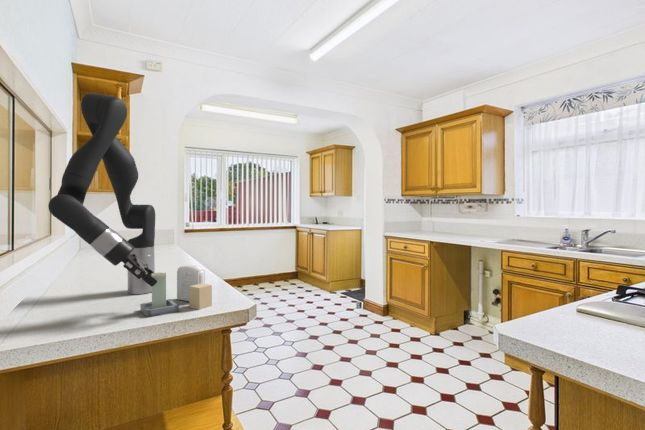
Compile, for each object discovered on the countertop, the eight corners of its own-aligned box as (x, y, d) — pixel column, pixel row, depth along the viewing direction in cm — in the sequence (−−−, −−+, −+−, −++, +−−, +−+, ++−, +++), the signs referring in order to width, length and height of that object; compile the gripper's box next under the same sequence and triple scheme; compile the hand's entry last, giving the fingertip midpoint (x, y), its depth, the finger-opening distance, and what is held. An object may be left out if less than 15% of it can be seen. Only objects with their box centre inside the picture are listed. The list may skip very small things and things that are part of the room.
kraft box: (189, 307, 117) (189, 286, 117) (201, 303, 122) (201, 283, 121) (199, 309, 115) (199, 288, 115) (211, 306, 119) (211, 285, 119)
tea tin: (152, 307, 114) (151, 273, 114) (166, 306, 116) (166, 272, 115) (151, 311, 110) (151, 275, 110) (166, 309, 112) (166, 274, 112)
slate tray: (140, 310, 114) (140, 303, 114) (170, 305, 119) (170, 299, 119) (147, 317, 107) (147, 310, 107) (178, 311, 112) (178, 305, 112)
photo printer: (207, 300, 126) (206, 265, 125) (198, 303, 122) (198, 267, 121) (183, 297, 130) (183, 263, 129) (175, 300, 126) (174, 265, 125)
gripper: (120, 239, 102) (164, 276, 107) (125, 235, 115) (164, 268, 120) (98, 259, 100) (144, 296, 105) (106, 252, 113) (147, 285, 118)
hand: (155, 281), depth 112 cm, fingers open, 8 cm apart
